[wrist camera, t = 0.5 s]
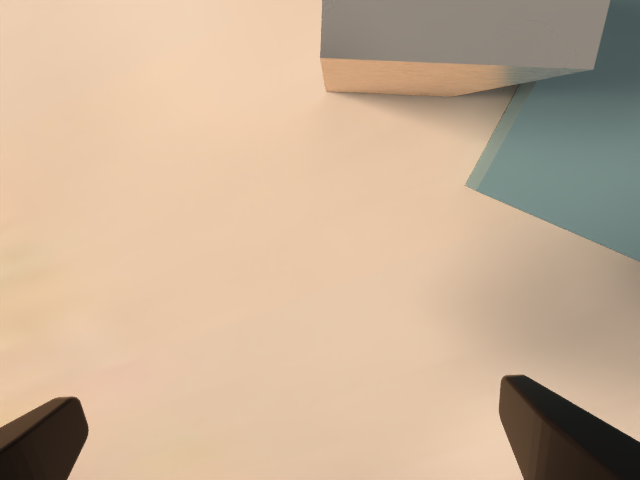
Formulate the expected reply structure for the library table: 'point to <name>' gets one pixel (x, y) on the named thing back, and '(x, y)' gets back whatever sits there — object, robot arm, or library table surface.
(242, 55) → the library table surface
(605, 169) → the lipped steel plate
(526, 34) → the aluminium block
